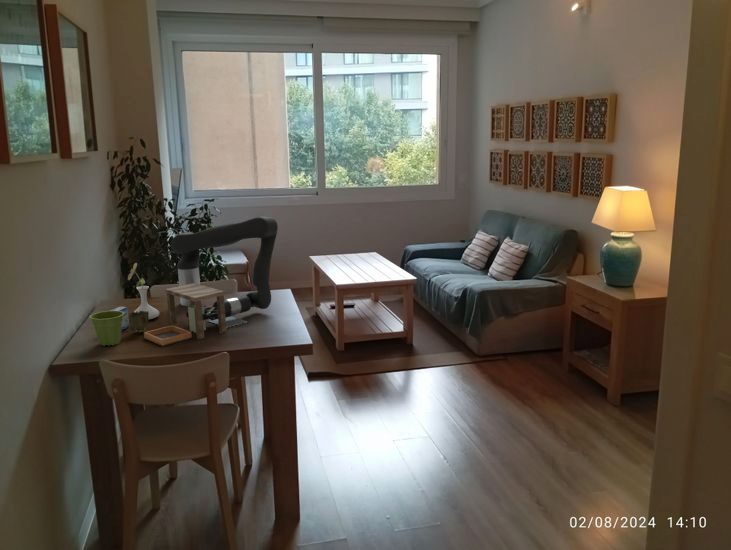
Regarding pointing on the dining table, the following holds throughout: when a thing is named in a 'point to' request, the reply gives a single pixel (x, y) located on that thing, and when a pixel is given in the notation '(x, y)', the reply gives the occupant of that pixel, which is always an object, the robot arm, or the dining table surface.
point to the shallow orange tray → (167, 335)
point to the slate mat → (229, 321)
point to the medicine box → (125, 317)
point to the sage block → (192, 318)
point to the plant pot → (108, 326)
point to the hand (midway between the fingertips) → (192, 317)
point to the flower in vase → (143, 297)
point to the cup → (139, 320)
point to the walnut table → (196, 304)
